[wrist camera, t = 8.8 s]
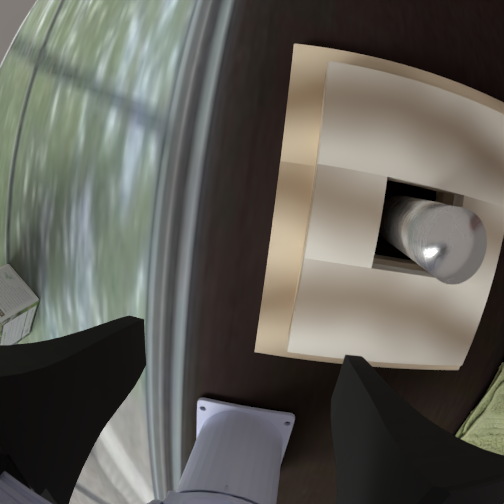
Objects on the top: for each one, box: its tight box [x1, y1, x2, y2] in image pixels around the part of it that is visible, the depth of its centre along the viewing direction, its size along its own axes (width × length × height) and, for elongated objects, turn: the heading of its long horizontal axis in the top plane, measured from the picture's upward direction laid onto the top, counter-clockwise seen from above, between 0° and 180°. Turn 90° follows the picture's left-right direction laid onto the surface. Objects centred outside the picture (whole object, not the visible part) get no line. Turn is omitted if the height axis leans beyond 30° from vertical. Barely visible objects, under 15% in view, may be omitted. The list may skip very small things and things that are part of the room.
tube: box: [379, 195, 487, 285], centre depth 14 cm, size 3×3×8 cm
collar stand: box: [255, 44, 504, 370], centre depth 16 cm, size 20×16×4 cm
